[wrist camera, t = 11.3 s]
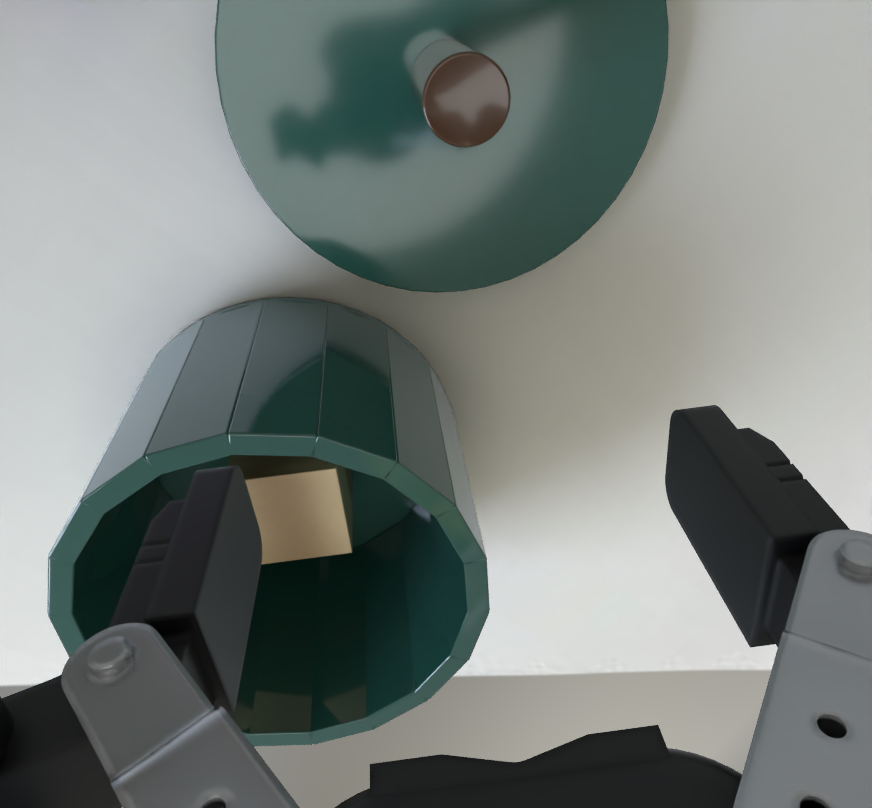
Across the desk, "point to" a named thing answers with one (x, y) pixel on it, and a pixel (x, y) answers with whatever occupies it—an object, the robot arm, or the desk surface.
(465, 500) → the pot
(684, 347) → the desk surface
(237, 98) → the lid
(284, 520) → the block
